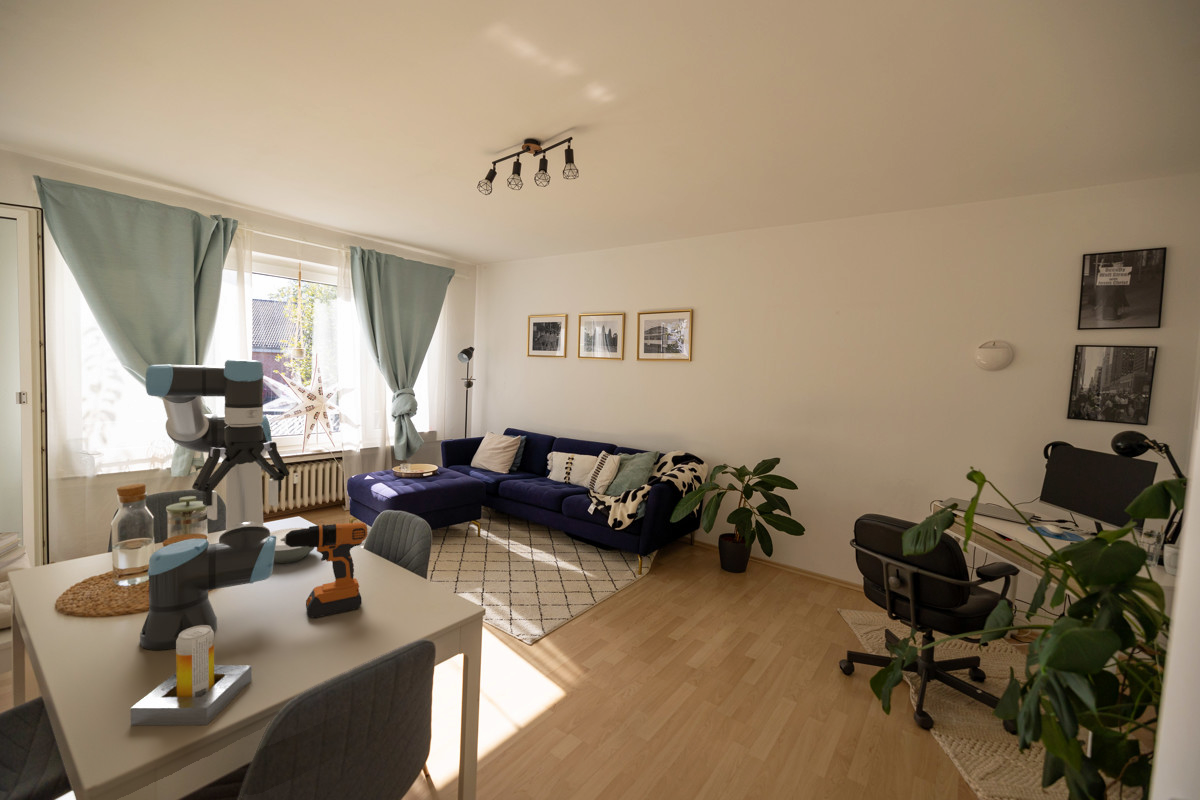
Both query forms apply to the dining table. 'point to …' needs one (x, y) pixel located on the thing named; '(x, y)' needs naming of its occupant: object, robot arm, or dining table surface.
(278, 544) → the bowl
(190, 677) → the beer can
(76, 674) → the dining table surface
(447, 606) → the dining table surface
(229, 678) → the collar
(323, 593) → the power drill
